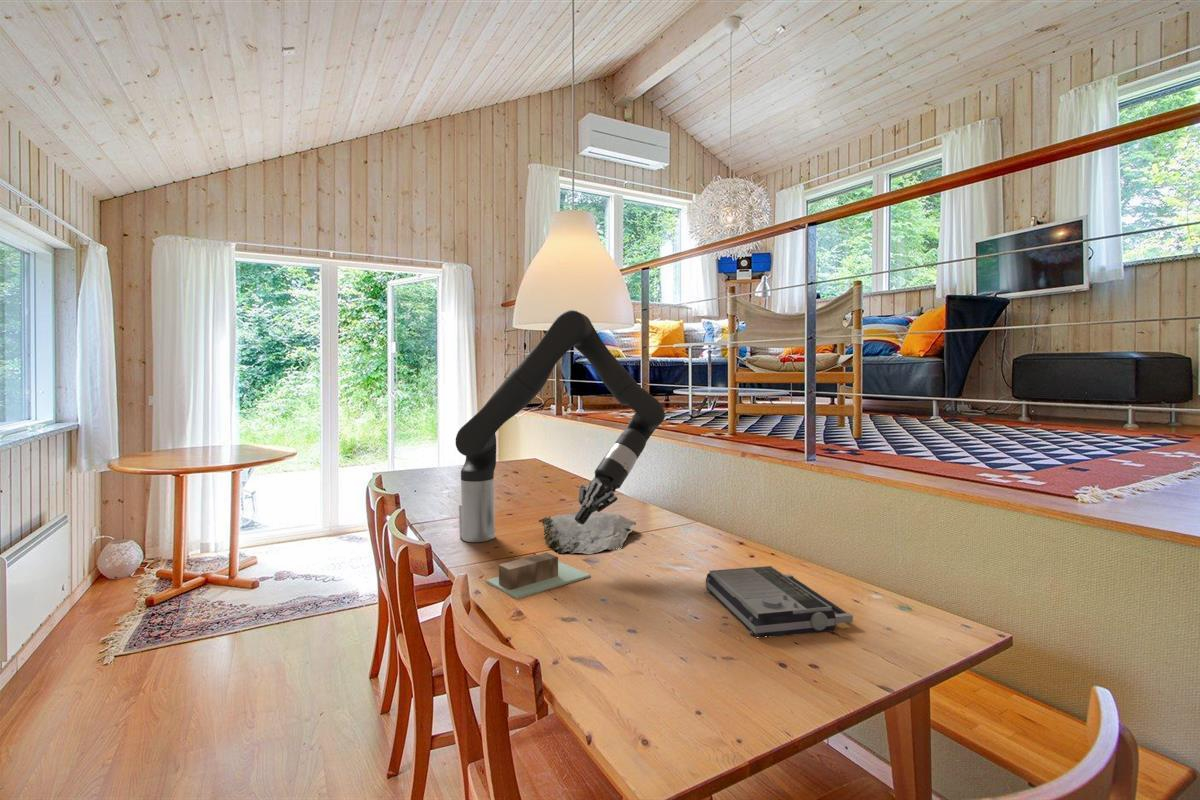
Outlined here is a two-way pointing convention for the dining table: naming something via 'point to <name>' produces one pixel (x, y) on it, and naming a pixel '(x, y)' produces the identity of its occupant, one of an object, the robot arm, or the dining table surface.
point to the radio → (773, 602)
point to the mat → (543, 582)
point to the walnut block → (528, 570)
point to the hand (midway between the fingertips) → (578, 522)
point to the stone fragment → (586, 532)
